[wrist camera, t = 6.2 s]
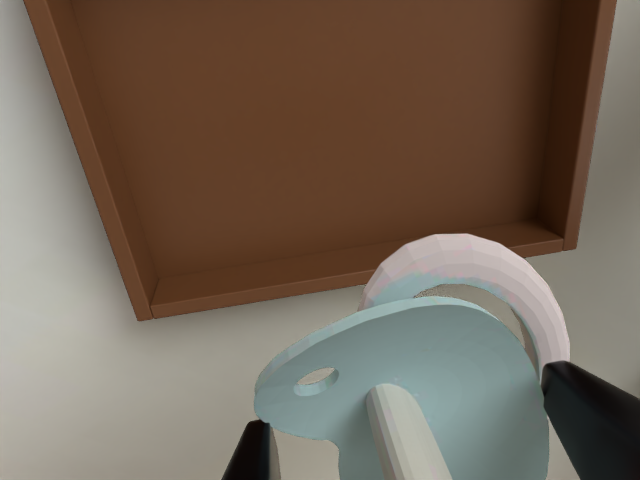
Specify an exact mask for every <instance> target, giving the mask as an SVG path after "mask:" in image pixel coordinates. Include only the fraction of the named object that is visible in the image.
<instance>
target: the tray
mask: <svg viewBox="0 0 640 480" xmlns="http://www.w3.org/2000/svg"><path fill="white" fill-rule="evenodd" d="M23 1H24V4H25V6H26V9H27V12H28V15H29V18H30V20H31V23H32V26H33V29H34V32H35V35H36V37H37V40H38V43H39V46H40V49H41V51H42V54H43V57H44V60H45V63H46V65H47V68H48V71H49V74H50V77H51V79H52V82H53V85H54V88H55V91H56V93H57V96H58V99H59V102H60V105H61V107H62V110H63V113H64V116H65V119H66V121H67V124H68V127H69V130H70V133H71V135H72V138H73V141H74V144H75V147H76V149H77V152H78V155H79V158H80V161H81V163H82V166H83V169H84V172H85V175H86V177H87V180H88V183H89V186H90V189H91V191H92V194H93V197H94V200H95V203H96V206H97V208H98V211H99V214H100V217H101V220H102V222H103V225H104V228H105V231H106V234H107V236H108V239H109V242H110V245H111V248H112V250H113V253H114V256H115V259H116V262H117V264H118V267H119V270H120V273H121V276H122V278H123V281H124V284H125V287H126V290H127V292H128V295H129V298H130V301H131V304H132V306H133V309H134V312H135V315H136V318H137V320H138V321H144V320H150V319H153V317H154V319H157V318H163V317H169V316H175V315H181V314H187V313H193V312H199V311H205V310H212V309H218V308H224V307H230V306H236V305H242V304H248V303H254V302H260V301H266V300H272V299H278V298H284V297H290V296H296V295H302V294H308V293H314V292H320V291H326V290H332V289H338V288H344V287H350V286H357V285H363V284H367V283H368V282H369V280H370V279H371V277H372V276H373V274H374V273H375V271H376V270H377V268H378V267H379V265H380V264H381V263H382V262H383V261H384V260H385V259H387V258H388V257H389V256H390V255H392V254H393V253H394V252H396V251H397V250H398V249H399V248H401V247H402V246H403V245H404V244H407V243H410V242H413V241H416V240H418V239H421V238H424V237H427V236H430V235H433V234H470V235H474V236H477V237H480V238H484V239H487V240H491V241H494V242H497V243H500V244H501V245H503V246H504V247H506V248H508V249H509V250H511V251H512V252H514V253H515V254H517V255H518V256H520V257H522V258H526V257H532V256H538V255H544V254H550V253H556V252H561V251H567V250H573V249H576V246H577V240H578V234H579V228H580V222H581V216H582V210H583V204H584V198H585V191H586V185H587V179H588V173H589V167H590V161H591V155H592V149H593V143H594V137H595V130H596V124H597V118H598V112H599V106H600V100H601V94H602V88H603V82H604V76H605V69H606V63H607V57H608V51H609V45H610V39H611V33H612V27H613V21H614V15H615V8H616V2H617V0H23Z"/></svg>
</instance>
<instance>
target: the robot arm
mask: <svg viewBox="0 0 640 480" xmlns="http://www.w3.org/2000/svg"><path fill="white" fill-rule="evenodd" d="M540 386H541V389H542V392H543V395H544V404H543V407H544V409H545V411H546V413H547V415H548V417H549V419H550V421H551V423H552V425H553V427H554V429H555V431H556V433H557V435H558V437H559V439H560V441H561V443H562V445H563V447H564V449H565V451H566V453H567V455H568V457H569V459H570V461H571V463H572V465H573V466H574V468H575V470H576V472H577V474H578V476H579V478H580V479H581V480H640V399H638V398H636V397H634V396H633V395H631V394H629V393H627V392H625V391H623V390H621V389H619V388H617V387H616V386H614V385H612V384H610V383H608V382H606V381H604V380H602V379H601V378H599V377H597V376H595V375H593V374H591V373H589V372H587V371H585V370H584V369H582V368H580V367H578V366H576V365H574V364H572V363H570V362H568V361H565V360H560V361H555V362H550V363H546V364H545V365H544V366H543V369H542V377H541V385H540ZM221 480H281V475H280V465H279V456H278V450H277V445H276V441H275V437H274V433H273V429H272V427H271V426H270V423H265V422H264V421H262V420H261V419H259V420H254V421H250V422H249V423H248V424H247V426H246V428H245V430H244V432H243V434H242V436H241V438H240V441H239V443H238V445H237V447H236V449H235V451H234V453H233V456H232V458H231V460H230V462H229V464H228V466H227V468H226V471H225V473H224V475H223V477H222V479H221Z"/></svg>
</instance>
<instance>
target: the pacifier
mask: <svg viewBox="0 0 640 480" xmlns="http://www.w3.org/2000/svg"><path fill="white" fill-rule="evenodd" d="M441 284H467V285H471V286H474V287H478V288H481V289H484V290H487V291H489V292H490V293H492V294H493V295H495V296H497V297H498V298H500V299H501V300H503V301H505V302H506V303H507V304H508V305H509V306H510V308H511V310H512V311H513V313H514V315H515V317H516V318H517V320H518V322H519V324H520V328H521V331H522V334H523V337H524V341H525V350H524V348H523V346H522V345H521V343H520V342H519V340H518V338H517V337H516V336H515V335H514V334H513V333H512V332H511V331H510V330H509V329H508V328H507V327H506V326H505V325H504V324H503V323H502V322H501V321H500V320H499V319H498V318H496V317H495V316H494V315H492V314H491V313H489V312H488V311H486V310H484V309H483V308H481V307H480V306H478V305H476V304H473V303H470V302H467V301H464V300H461V299H457V298H450V297H440V296H427V297H419V298H413V297H415V296H416V295H417V294H418V293H420V292H421V291H423V290H426V289H429V288H432V287H435V286H438V285H441ZM560 360H565V361H568V362H570V342H569V338H568V334H567V330H566V325H565V321H564V317H563V314H562V311H561V309H560V307H559V305H558V303H557V301H556V299H555V298H554V296H553V294H552V292H551V290H550V288H549V286H548V284H547V283H546V282H545V281H544V280H543V279H542V277H541V276H540V275H539V274H538V273H537V272H536V271H535V270H534V269H533V267H532V266H531V265H530V264H529V263H528V262H527V261H526V260H525V259H523V258H522V257H520V256H518V255H517V254H515V253H514V252H512V251H511V250H509V249H508V248H506V247H504V246H503V245H501V244H500V243H497V242H494V241H491V240H487V239H484V238H480V237H477V236H474V235H470V234H433V235H430V236H427V237H424V238H421V239H418V240H416V241H413V242H410V243H407V244H404V245H403V246H402V247H401V248H399V249H398V250H397V251H396V252H394V253H393V254H392V255H390V256H389V257H388V258H387V259H385V260H384V261H383V262H382V263H381V264H380V265H379V267H378V268H377V270H376V271H375V273H374V274H373V276H372V277H371V279H370V280H369V282H368V283H367V285H366V286H365V288H364V290H363V293H362V297H361V300H360V304H359V307H358V311H357V312H356V313H354V314H352V315H349V316H347V317H345V318H343V319H340V320H338V321H336V322H333V323H331V324H329V325H327V326H325V327H323V328H321V329H319V330H316V331H314V332H312V333H310V334H309V335H307V336H306V337H304V338H303V339H301V340H299V341H298V342H296V343H295V344H293V345H292V346H290V347H288V348H287V349H285V350H284V351H283V352H281V353H280V354H278V355H277V356H276V357H275V358H274V359H273V360H272V361H271V362H270V363H269V364H268V365H267V366H266V367H265V369H264V370H263V371H262V372H261V373H260V375H259V377H258V380H257V382H256V385H255V396H254V410H255V413H256V415H257V416H258V417H259V418H260V419H261V420H262V421H264V422H265V423H270V426H271V427H272V428H275V429H277V430H279V431H281V432H284V433H287V434H291V435H294V436H298V437H304V438H309V439H314V440H329V441H331V442H333V443H334V444H335V445H336V446H337V447H338V449H339V475H340V480H545V479H546V476H547V471H548V462H549V426H548V420H549V417H548V415H547V413H546V411H545V409H544V407H543V404H544V395H543V392H542V389H541V386H540V385H541V377H542V369H543V366H544V365H545V364H546V363H550V362H555V361H560ZM326 367H330V368H335V370H334V371H333V372H332V373H331V374H330V375H329V376H328V377H326V378H325V379H323V380H321V381H319V382H316V383H313V384H308V385H300V384H297V382H298V381H299V380H300V379H301V378H302V377H304V376H305V375H307V374H309V373H311V372H312V371H315V370H318V369H320V368H326Z"/></svg>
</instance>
